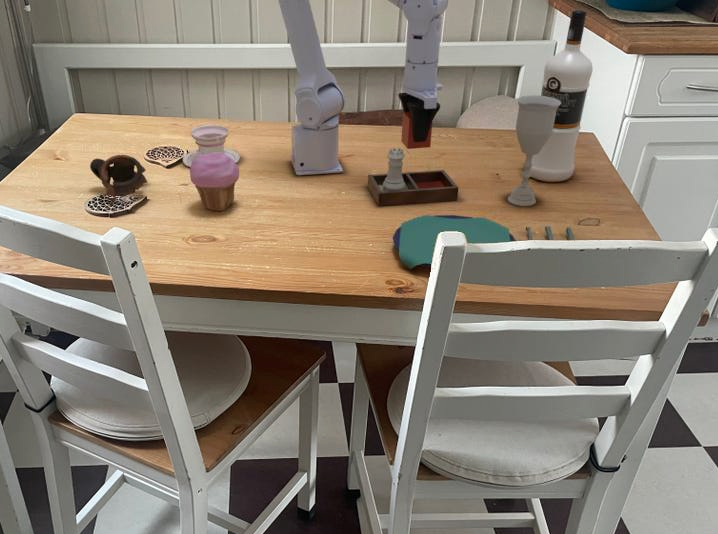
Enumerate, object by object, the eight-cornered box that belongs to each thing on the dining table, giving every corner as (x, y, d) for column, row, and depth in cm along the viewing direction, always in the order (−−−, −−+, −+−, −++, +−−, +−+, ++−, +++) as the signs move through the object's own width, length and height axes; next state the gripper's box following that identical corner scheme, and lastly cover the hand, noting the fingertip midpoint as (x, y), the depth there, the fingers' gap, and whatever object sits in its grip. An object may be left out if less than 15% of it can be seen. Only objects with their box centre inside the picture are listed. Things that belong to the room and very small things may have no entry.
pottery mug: (159, 186, 143) (154, 158, 136) (136, 222, 139) (130, 196, 132) (104, 165, 144) (96, 137, 137) (80, 201, 141) (71, 173, 133)
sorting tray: (378, 206, 133) (379, 193, 132) (367, 187, 140) (368, 175, 139) (457, 200, 135) (458, 187, 133) (442, 182, 142) (443, 169, 141)
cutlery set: (394, 222, 127) (395, 210, 126) (571, 231, 124) (573, 218, 122) (389, 277, 112) (390, 263, 110) (591, 289, 108) (595, 275, 106)
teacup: (250, 162, 152) (248, 133, 148) (199, 175, 146) (196, 145, 143) (222, 146, 160) (220, 118, 156) (173, 158, 154) (169, 129, 151)
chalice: (543, 195, 136) (562, 97, 126) (540, 209, 131) (560, 108, 120) (503, 190, 138) (519, 94, 128) (499, 204, 133) (514, 105, 122)
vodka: (582, 177, 143) (619, 11, 125) (547, 187, 139) (580, 17, 122) (548, 162, 150) (578, 3, 132) (514, 171, 146) (540, 8, 128)
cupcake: (228, 219, 129) (224, 165, 123) (185, 213, 132) (178, 159, 126) (248, 200, 136) (245, 148, 130) (207, 194, 138) (202, 142, 133)
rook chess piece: (406, 196, 135) (409, 154, 130) (382, 196, 135) (384, 154, 130) (404, 187, 139) (407, 146, 134) (381, 187, 139) (383, 146, 134)
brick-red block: (407, 149, 134) (409, 119, 131) (401, 141, 138) (402, 111, 134) (430, 147, 135) (432, 117, 131) (423, 139, 138) (425, 110, 135)
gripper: (457, 69, 122) (449, 148, 130) (431, 49, 134) (425, 123, 142) (416, 71, 121) (410, 151, 129) (394, 51, 133) (390, 125, 141)
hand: (416, 137), depth 135 cm, fingers closed on brick-red block, 4 cm apart
